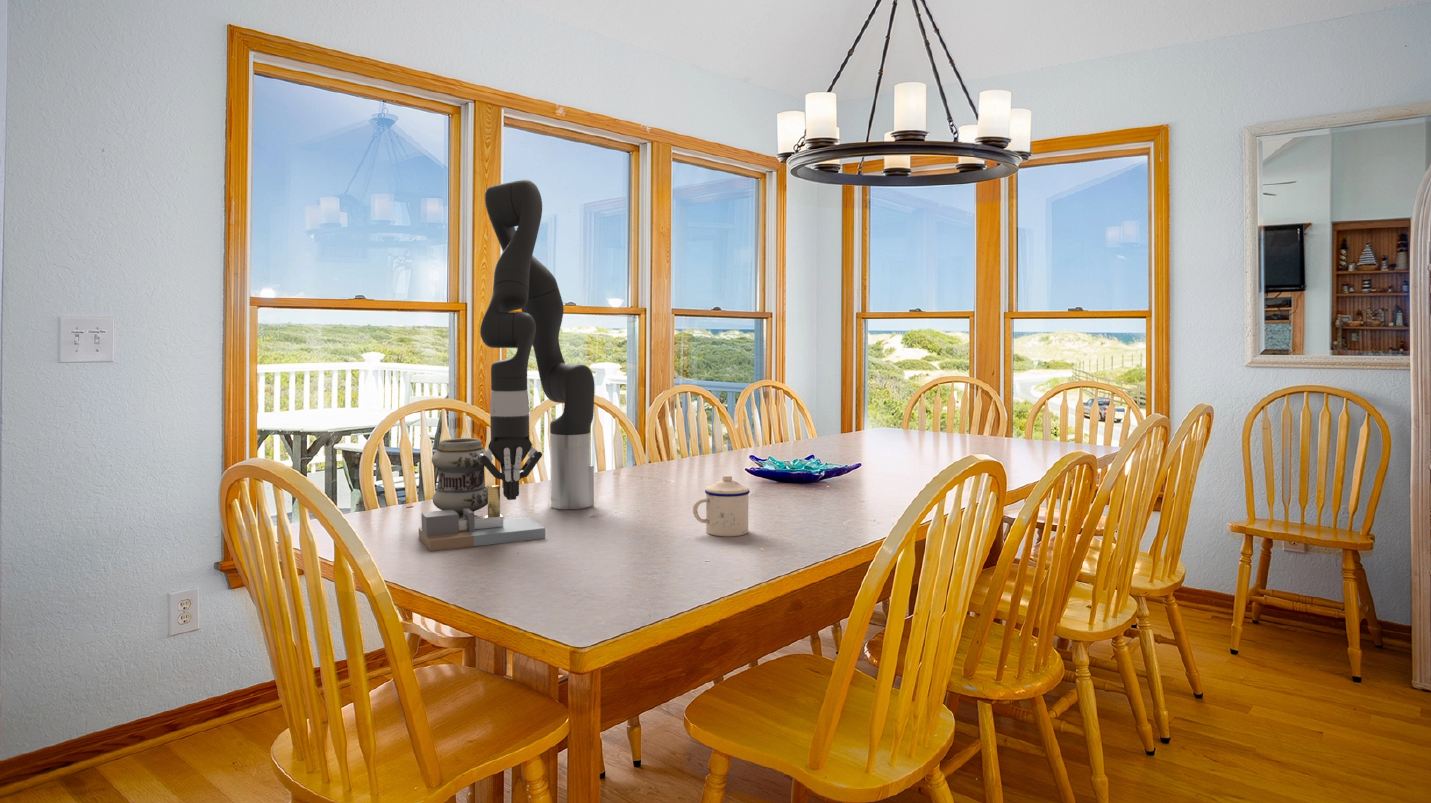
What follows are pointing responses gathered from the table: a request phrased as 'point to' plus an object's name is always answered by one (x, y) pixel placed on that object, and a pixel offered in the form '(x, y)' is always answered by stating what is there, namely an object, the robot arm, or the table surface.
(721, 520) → the teacup with lid
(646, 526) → the table surface
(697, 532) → the table surface
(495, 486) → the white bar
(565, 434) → the robot arm
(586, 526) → the table surface
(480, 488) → the apothecary jar
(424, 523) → the door and jamb lock plate
